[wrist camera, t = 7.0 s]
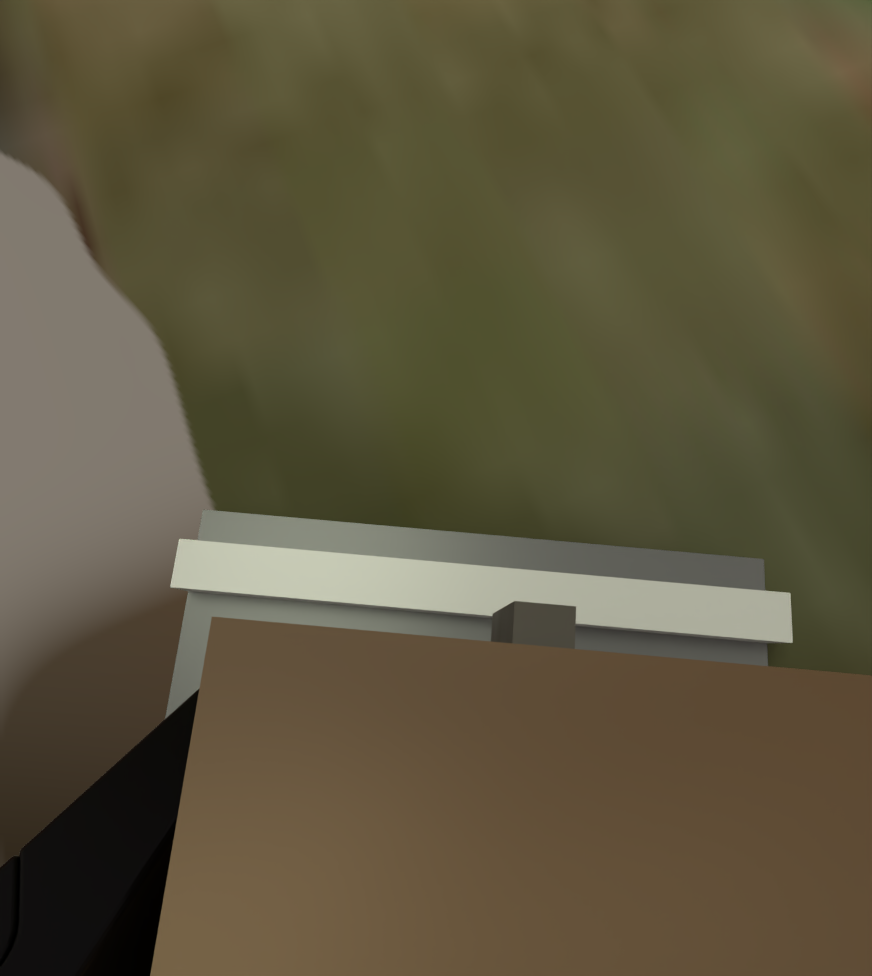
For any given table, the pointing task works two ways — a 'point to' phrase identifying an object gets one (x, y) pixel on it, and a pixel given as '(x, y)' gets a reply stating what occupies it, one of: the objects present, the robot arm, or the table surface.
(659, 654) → the track board
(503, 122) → the table surface
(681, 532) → the table surface
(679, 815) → the wooden block
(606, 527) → the table surface
